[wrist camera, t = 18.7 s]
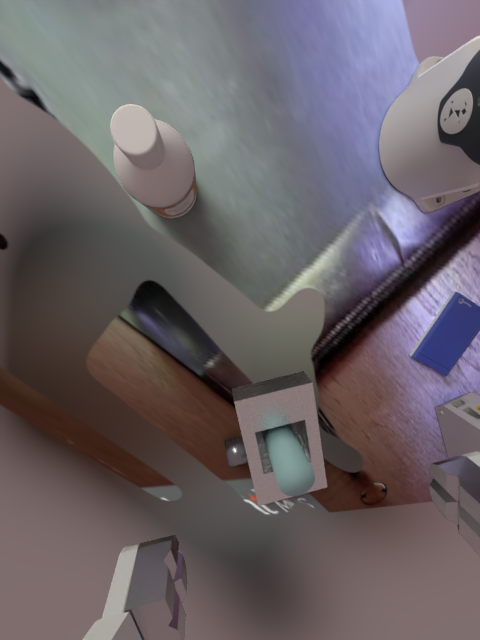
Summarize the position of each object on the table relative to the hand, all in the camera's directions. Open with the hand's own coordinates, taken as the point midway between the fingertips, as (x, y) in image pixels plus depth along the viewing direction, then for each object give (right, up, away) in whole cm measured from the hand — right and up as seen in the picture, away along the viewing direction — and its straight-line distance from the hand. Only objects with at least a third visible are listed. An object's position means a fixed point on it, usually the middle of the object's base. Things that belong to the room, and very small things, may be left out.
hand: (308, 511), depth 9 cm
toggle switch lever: (+4, -13, +39) cm, 41 cm away
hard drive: (+33, +4, +40) cm, 52 cm away
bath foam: (-11, +23, +28) cm, 38 cm away
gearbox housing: (+3, -13, +39) cm, 42 cm away
